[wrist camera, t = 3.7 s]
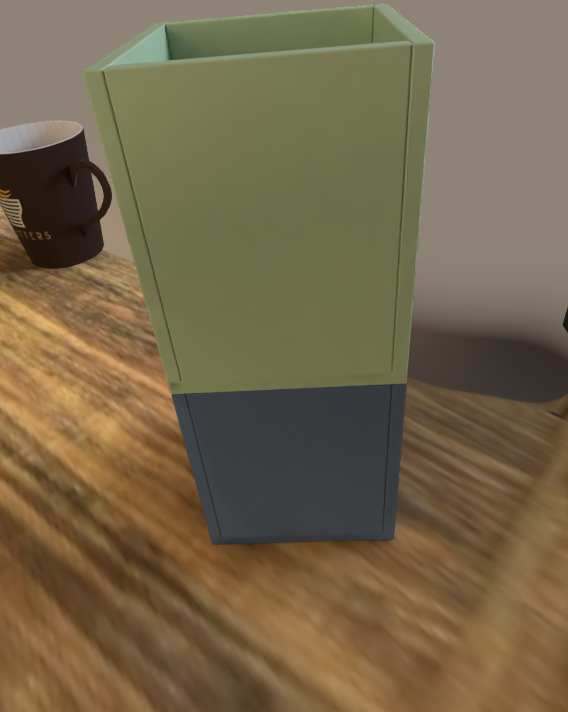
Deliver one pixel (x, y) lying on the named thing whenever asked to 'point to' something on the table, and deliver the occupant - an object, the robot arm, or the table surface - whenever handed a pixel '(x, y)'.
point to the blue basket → (296, 462)
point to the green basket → (272, 192)
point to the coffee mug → (52, 192)
